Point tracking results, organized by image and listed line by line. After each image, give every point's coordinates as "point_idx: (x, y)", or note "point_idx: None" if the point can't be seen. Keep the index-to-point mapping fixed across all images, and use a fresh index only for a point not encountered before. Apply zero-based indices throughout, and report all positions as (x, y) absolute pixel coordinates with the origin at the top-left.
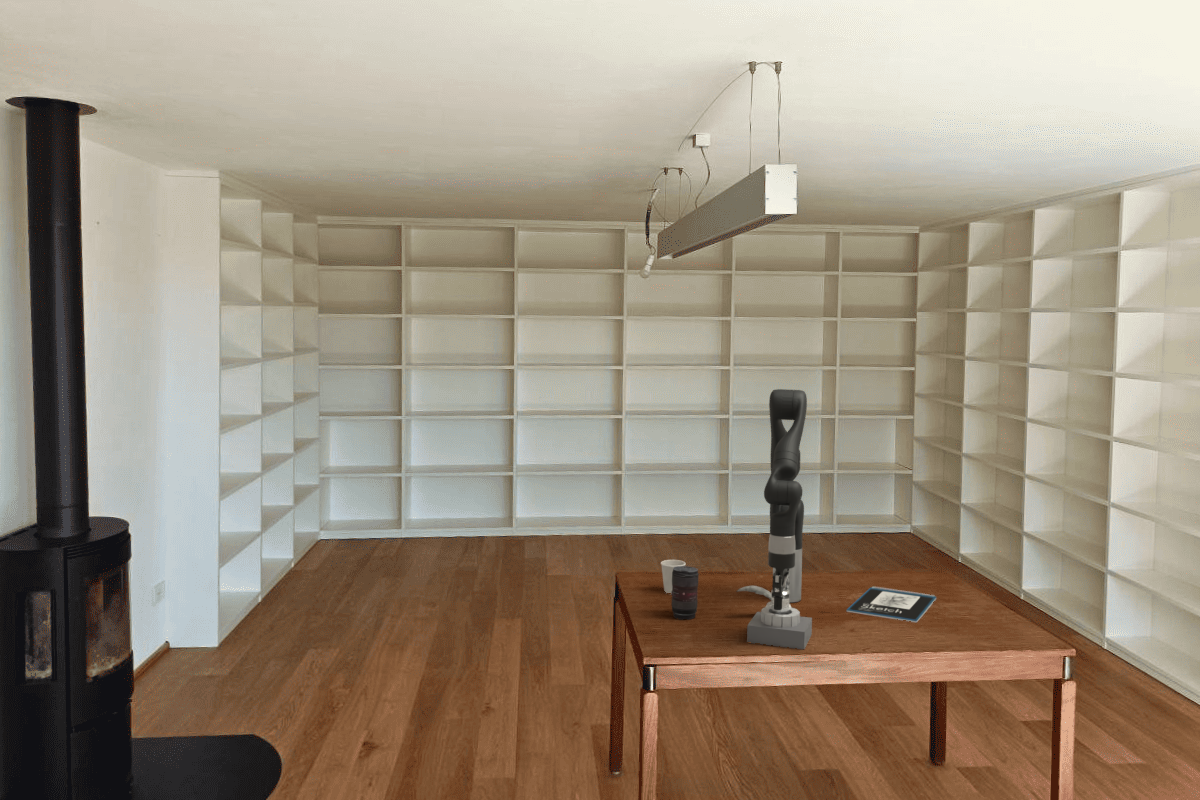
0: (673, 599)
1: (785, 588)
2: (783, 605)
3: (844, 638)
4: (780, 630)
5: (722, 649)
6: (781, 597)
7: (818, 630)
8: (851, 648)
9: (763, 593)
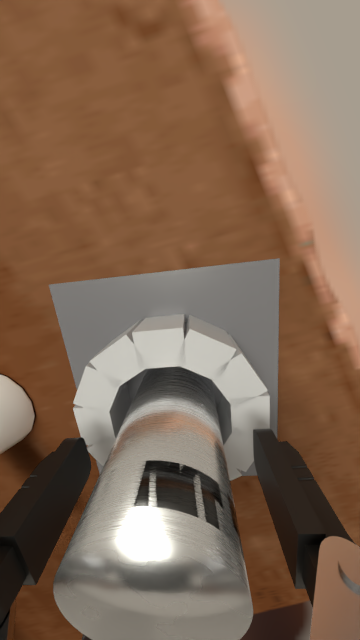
0: None
1: (2, 565)
2: (215, 439)
3: (59, 157)
4: (276, 361)
5: (335, 460)
6: (320, 537)
7: (33, 271)
8: (159, 91)
9: None
